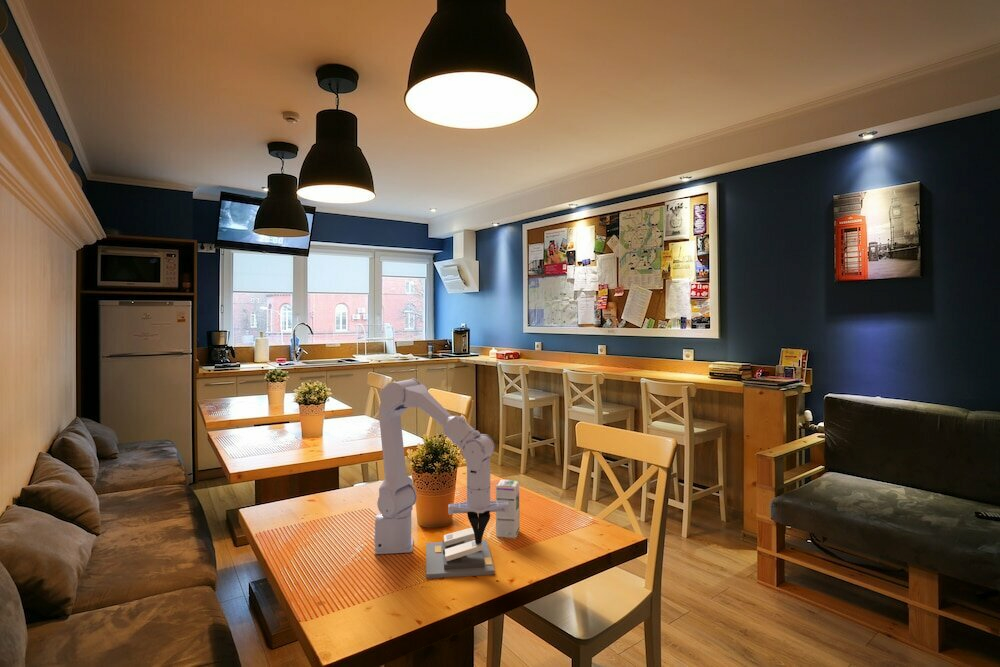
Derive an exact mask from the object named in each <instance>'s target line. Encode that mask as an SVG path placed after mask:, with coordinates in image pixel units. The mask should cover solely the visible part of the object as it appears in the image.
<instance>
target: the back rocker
mask: <svg viewBox="0 0 1000 667" xmlns="http://www.w3.org/2000/svg"><path fill="white" fill-rule="evenodd" d="M469 539H475V535H474V531H473V528H472V526H471V527H468V528H464V529H461V530H457V531H454V532H450V533H446V534H444V535H443V540H444V543H445V546H448V545H452V544H455V543H459V542H462V541H466V540H469Z"/></svg>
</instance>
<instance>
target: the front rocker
mask: <svg viewBox="0 0 1000 667" xmlns="http://www.w3.org/2000/svg"><path fill="white" fill-rule="evenodd" d="M481 550H483V547H482V543H477V544H476V542H475V540H473V541H470V542H467V543H463V544H460V545H457V546H454V547H451V548H447V549H445V558H446V561H450V560H453V559H456V558H459V557H462V556H466V555H469V554H472V553H475V552H478V551H481Z"/></svg>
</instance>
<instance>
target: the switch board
mask: <svg viewBox="0 0 1000 667" xmlns="http://www.w3.org/2000/svg"><path fill="white" fill-rule="evenodd" d="M473 540H475V538H473V539H469V540H466V541H462V542H459V543H455V544H452V545H448V546H445V543H444V539H443V540H442V541H437V542H436V541H434V542H426V545H425V546H426V548H425V551H426V552H425V553H426V555H425V579H426V580H427V579H440V578H442V579H443V577H444V578H458V577H472V576H473V577H474V576H475V577H476V576H491V575H492V574H496V573H495V572H496V570H495V567H494V562H493V559H492V554H491V551H490V547H489V544H488V540H487V539H482V547H483V550H481V551H478V552H475V553H472V554H469V555H466V556H462V557H459V558H456V559H453V560H450V561H446V558H445V549H447V548H451V547H454V546H457V545H460V544H463V543H467V542H470V541H473ZM492 576H493V575H492Z"/></svg>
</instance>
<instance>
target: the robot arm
mask: <svg viewBox="0 0 1000 667" xmlns="http://www.w3.org/2000/svg"><path fill="white" fill-rule="evenodd" d="M380 399H381V400H380V404H379V407H378V417H379V429H380V431H379V432H380V440H381V450H382V459H383V470H384V479H383V481H382V483H381V485H380V486H379V488H378V498H377V502H376V503H377V510H378V511H379V513H378V514H376V515H375V519H374V539H373V540H374V542H373V544H374V554H375V555H385V554H387V555H388V554H389V555H390V554H402V553H413V548H414V538H413V537H412V511H413V506H414V505H415V504H416V502H417V499H418V494H417V491H416V488H415V487H414V483H413V482H414V481H413V479H412V478H411V476H409V475H407V469H406V460H405V448H404V438H403V436H404V435H403V428H402V427H403V426H402V419H401V416H402V415H403V413H404V412H405V411H406V410H407V409H408V408H419V409H420V410H421V411H423V413H425V414H427V415H428V416H429V417H431V418H432V419H433V420H434V421H435V422H437V423H438V424H440V426H442V432H443V434H444V435H445V437H447V438H448V439H449V440H450V441H451V442H452V443H453V444H454V445H455V446H457V447H458V448H459V449H460V450H461V453H462V456H463V459H464V460H465V463H466V501H462V502H456V503H449V504H448V503H447V504H448V505H447V506H448V509H447V512H448V516H450V515H451V516H452V515H454V514H467V519H468V521H469V523H470V526H471V527H472V528H473V531H474V535H475V538H474V539H475V542H476V544H477V543H482V540H483V535H484V532H485V530H486V527H487V525H488V523H489V522H490V520H491V514H490V513H492V512H493V513H496V512H501V511H504V512H509V504H508V502H499V501H496V500H491V458H492V457H491V456H492V455H493V454H494V452H495V450H496V449H495V443H494V440H493V439H492V438H491V436H490V435H489V434H486V433H481V432H480V431H479V430H476V429H475V428H474V427H472V426H471V425H470V424H469V423H468V422H467V419H466V418H465V417H464V416H460V415H452V414H451V413H450V412H449V411H448V410H446V408H445V407H443V405H442V404H441V403H440V402H439V401H437V399H436V398H435V397H434V396H433V395H432V394H431V393H430V392H429V390H428V388H427V386H425V385H424V384H423V383H421V381H419V380H418V379H416V378H413V377H412V378H409V379H405V380H400V381H390V382H388V383H387V384H386V385H385V386H383V388H382V389H381V390H380Z"/></svg>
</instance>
